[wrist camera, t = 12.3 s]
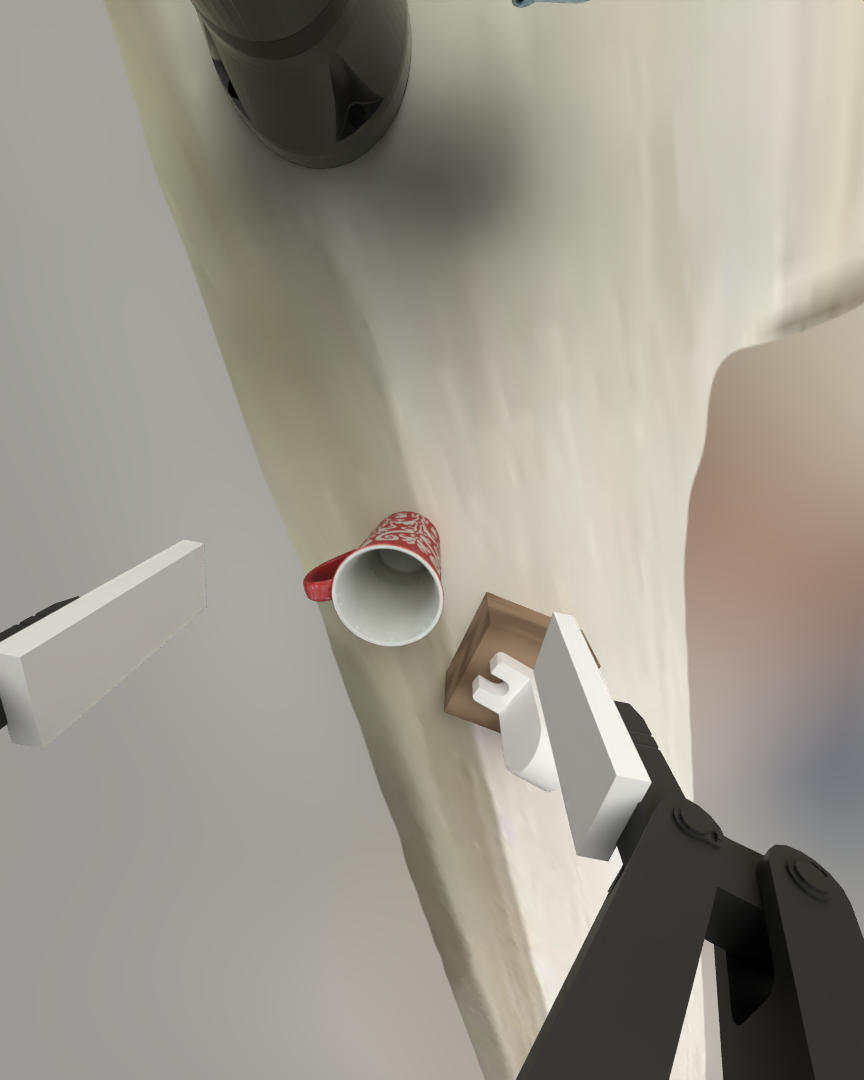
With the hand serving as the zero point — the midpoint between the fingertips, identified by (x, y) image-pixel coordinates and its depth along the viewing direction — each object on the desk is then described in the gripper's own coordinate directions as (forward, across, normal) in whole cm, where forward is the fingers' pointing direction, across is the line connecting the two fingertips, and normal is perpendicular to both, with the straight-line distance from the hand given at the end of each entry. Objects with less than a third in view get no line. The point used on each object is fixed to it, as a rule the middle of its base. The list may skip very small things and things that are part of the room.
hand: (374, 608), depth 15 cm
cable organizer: (+21, +14, -20) cm, 32 cm away
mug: (+28, -3, -9) cm, 30 cm away
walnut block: (+28, +13, -20) cm, 37 cm away
